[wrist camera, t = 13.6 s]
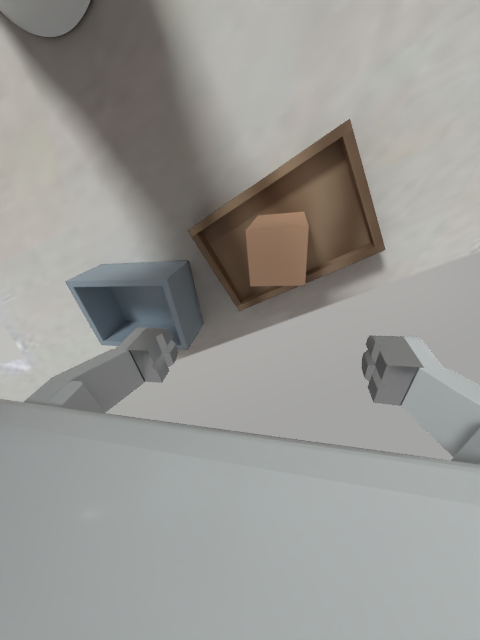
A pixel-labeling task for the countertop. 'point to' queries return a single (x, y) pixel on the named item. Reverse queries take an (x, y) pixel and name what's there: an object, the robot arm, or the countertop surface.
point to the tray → (298, 196)
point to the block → (278, 249)
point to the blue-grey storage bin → (139, 300)
